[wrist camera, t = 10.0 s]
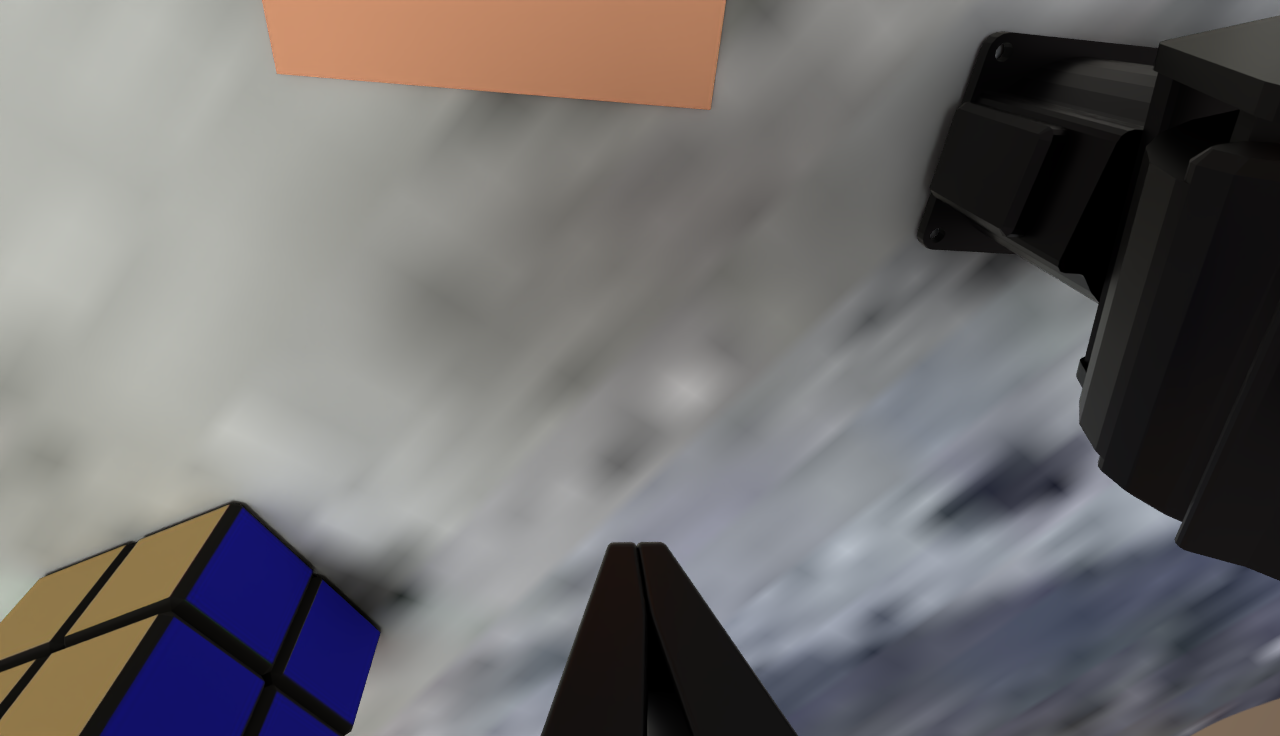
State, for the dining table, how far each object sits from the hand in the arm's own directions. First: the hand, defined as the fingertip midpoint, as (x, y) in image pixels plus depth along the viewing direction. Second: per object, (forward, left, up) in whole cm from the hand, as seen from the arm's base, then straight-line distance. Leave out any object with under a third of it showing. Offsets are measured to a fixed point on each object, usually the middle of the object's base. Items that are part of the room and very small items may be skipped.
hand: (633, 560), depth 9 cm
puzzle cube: (+16, +18, -13) cm, 28 cm away
